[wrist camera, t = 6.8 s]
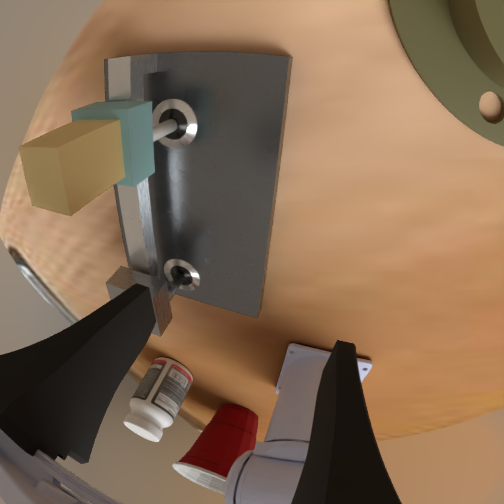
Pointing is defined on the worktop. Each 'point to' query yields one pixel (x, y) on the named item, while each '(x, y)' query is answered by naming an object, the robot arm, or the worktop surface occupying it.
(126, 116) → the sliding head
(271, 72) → the hole plate
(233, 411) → the plastic cup
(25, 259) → the worktop surface
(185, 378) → the pill bottle
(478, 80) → the flange
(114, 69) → the rail
